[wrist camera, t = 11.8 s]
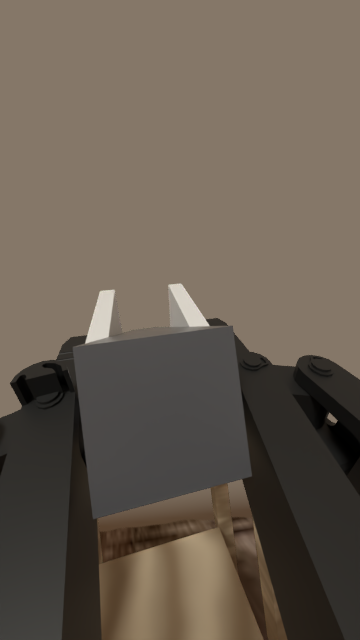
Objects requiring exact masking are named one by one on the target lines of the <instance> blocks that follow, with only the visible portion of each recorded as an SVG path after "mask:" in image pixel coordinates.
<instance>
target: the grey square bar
mask: <svg viewBox="0 0 360 640" xmlns="http://www.w3.org/2000/svg"><path fill="white" fill-rule="evenodd" d="M73 356H74V364H75V372H76V381H77V389H78V398H79V406H80V414H81V423H82V431H83V439H84V448H85V456H86V465H87V473H88V481H89V490H90V498H91V507H92V515H93V519H96V518H100V517H103V516H107V515H111V514H115V513H118V512H122V511H125V510H129V509H133V508H137V507H140V506H144V505H148V504H152V503H155V502H159V501H163V500H166V499H170V498H174V497H177V496H181V495H185V494H188V493H192V492H196V491H200V490H203V489H207V488H211V487H214V486H218V485H222V484H225V483H229V482H233V481H236V480H240V479H244V478H248V477H251V476H252V472H251V464H250V457H249V449H248V441H247V433H246V426H245V418H244V410H243V402H242V395H241V387H240V379H239V371H238V363H237V356H236V348H235V340H234V332H233V326H195V327H153V328H146V329H138V330H131V331H128V332H124V333H121V334H118V335H114V336H111V337H107V338H103V339H100V340H96V341H93V342H89V343H86V344H82V345H78V346H75V347H73Z"/></svg>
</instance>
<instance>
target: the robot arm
mask: <svg viewBox="0 0 360 640" xmlns="http://www.w3.org/2000/svg"><path fill="white" fill-rule="evenodd" d="M168 290H169V311H170V326H171V327H195V326H228V325H227V324H226V323H225V322H223V321H221V320H220V319H218V318H214V319H206V320H205V318H204V317H203V315H202V314H201V312H200V311H199V309H198V308H197V306H196V305H195V303H194V302H193V300H192V299H191V298H190V296H189V295H188V293H187V292H186V290H185V289H184V287H183V286H182V284H171V285H168ZM121 333H122V328H121V323H120V317H119V312H118V306H117V301H116V294H115V290H107V291H100V294H99V298H98V301H97V304H96V308H95V311H94V315H93V318H92V322H91V325H90V328H89V332H88V335H86V336H78V337H71V338H70V339H69V340H68V341H66V342H65V343H64V344H63V345H62V348H61V350H60V352H59V355H58V357H57V359H56V360H49V361H42V362H39V363H36V364H33V365H31V366H29V367H27V368H25V369H23V370H22V371H21V372H20V373H18V374H17V375H16V376H15V377H14V378H13V380H12V381H11V383H10V384H11V386H12V388H13V390H14V391H15V394H16V395H17V397H18V399H19V401H20V403H21V405H22V408H21V410H18V411H16V412H14V413H12V414H9V415H7V416H4V417H2V418H0V640H102V634H101V607H100V580H99V553H98V526H97V518H96V519H93V515H92V507H91V498H90V490H89V481H88V473H87V465H86V456H85V448H84V439H83V431H82V423H81V414H80V406H79V398H78V389H77V381H76V372H75V364H74V356H73V347H75V346H78V345H82V344H86V343H89V342H93V341H96V340H100V339H103V338H107V337H111V336H114V335H118V334H121ZM234 340H235V348H236V356H237V363H238V371H239V379H240V387H241V395H242V402H243V410H244V418H245V426H246V433H247V441H248V449H249V457H250V464H251V472H252V476H251V477H248V478H244V479H242V480H243V483H244V487H245V490H246V494H247V497H248V501H249V505H250V508H251V511H252V515H253V519H254V522H255V526H256V530H257V533H258V537H259V540H260V544H261V547H262V551H263V554H264V558H265V562H266V565H267V569H268V572H269V576H270V579H271V583H272V586H273V590H274V594H275V597H276V601H277V604H278V608H279V611H280V615H281V618H282V622H283V626H284V629H285V633H286V636H287V640H360V380H359V379H358V378H356V377H355V376H353V375H352V374H350V373H349V372H348V371H346V370H345V369H343V368H342V367H340V366H339V365H337V364H336V363H334V362H332V361H330V360H329V359H326V358H323V357H319V356H313V355H307V356H303V357H301V358H299V360H298V361H297V364H296V367H292V366H278V365H272V363H271V362H270V361H269V360H268V359H267V358H266V357H264V356H262V355H260V354H257V353H254V352H249V350H248V349H247V348H246V347H245V346H244V344H243V343H242V342H241V341H240V340H239V339H238V337H237V336H236V335H235V333H234ZM329 412H330V413H331V414H332V415H333V416H334V417H335V418H336V419H337V420H338V421H337V423H336V424H335V423H333V422H331V421H330V420H329V419H327V416H328V414H329Z"/></svg>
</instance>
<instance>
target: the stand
mask: <svg viewBox="0 0 360 640" xmlns="http://www.w3.org/2000/svg"><path fill="white" fill-rule="evenodd" d="M211 494H212V502H213V509H214V519H215V527H216V528H213V529H210V530H207V531H204V532H201V533H197V534H194V535H191V536H188V537H185V538H181V539H178V540H175V541H172V542H168V543H165V544H162V545H159V546H156V547H152V548H149V549H146V550H143V551H140V552H136V553H133V554H130V555H127V556H124V557H120V558H117V559H114V560H111V561H108V562H104V563H103V557H102V549H101V540H100V531H99V523H98V518H97V526H98V553H99V580H100V607H101V634H102V640H264V639H263V637H262V634H261V632H260V629H259V627H258V624H257V622H256V619H255V617H254V614H253V612H252V609H251V607H250V604H249V602H248V599H247V597H246V594H245V592H244V589H243V586H242V584H241V581H240V579H239V573H238V565H237V557H236V549H235V541H234V533H233V525H232V517H231V509H230V501H229V493H228V485H227V483H225V484H222V485H218V486H214V487H211ZM252 518H253V515H252ZM253 526H254V534H255V542H256V550H257V558H258V566H259V574H260V582H261V590H262V598H263V606H264V614H265V622H266V630H267V638H268V640H287V636H286V633H285V629H284V626H283V622H282V618H281V615H280V611H279V608H278V604H277V601H276V597H275V594H274V590H273V586H272V583H271V579H270V576H269V572H268V569H267V565H266V562H265V558H264V554H263V551H262V547H261V544H260V540H259V537H258V533H257V530H256V526H255V522H254V519H253Z"/></svg>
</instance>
